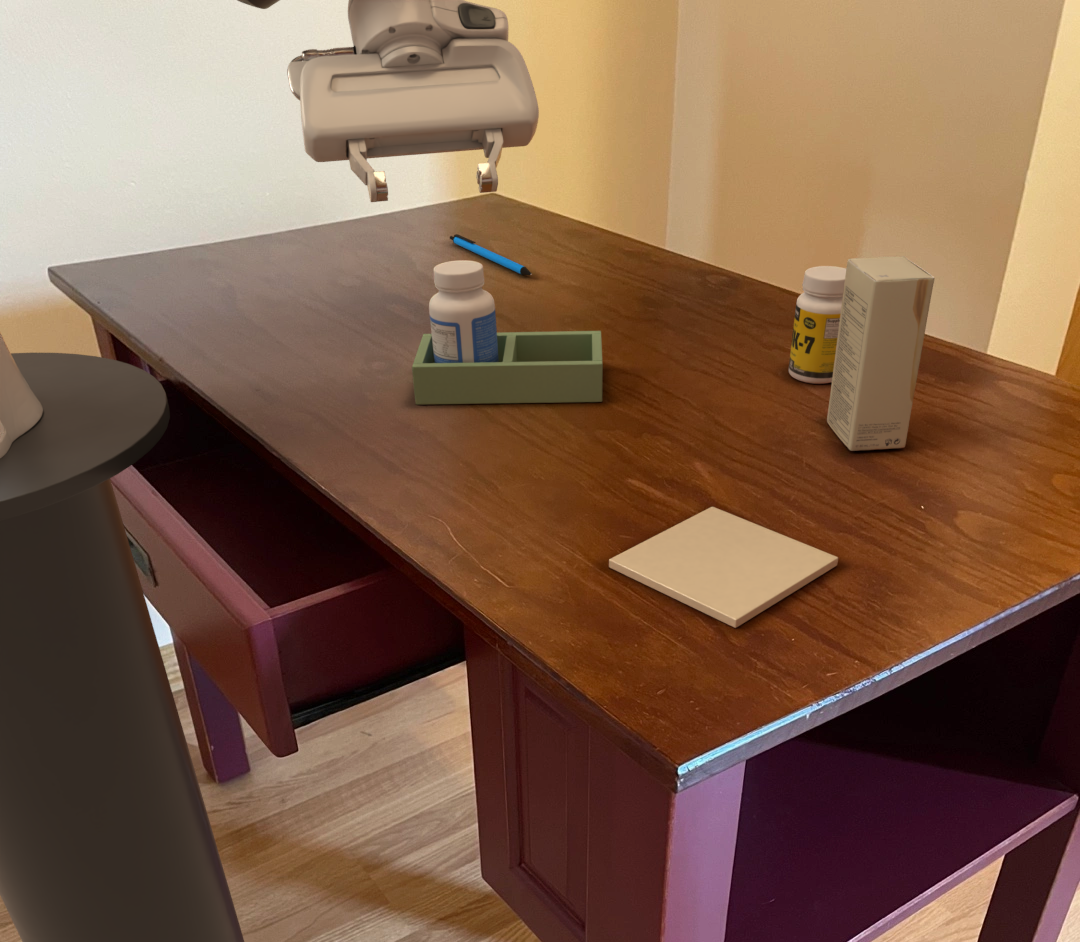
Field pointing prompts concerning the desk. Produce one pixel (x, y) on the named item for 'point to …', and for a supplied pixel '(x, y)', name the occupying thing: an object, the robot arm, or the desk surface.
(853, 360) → the cosmetic box
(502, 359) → the bottle rack
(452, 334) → the pill bottle
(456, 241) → the pen
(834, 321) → the supplement bottle
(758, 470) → the desk surface
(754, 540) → the tile
